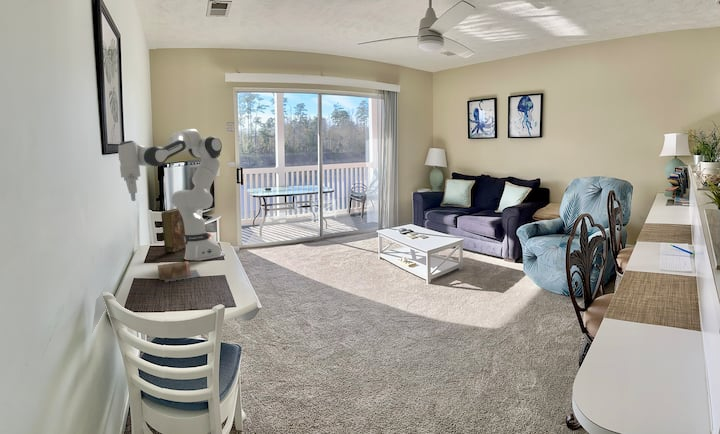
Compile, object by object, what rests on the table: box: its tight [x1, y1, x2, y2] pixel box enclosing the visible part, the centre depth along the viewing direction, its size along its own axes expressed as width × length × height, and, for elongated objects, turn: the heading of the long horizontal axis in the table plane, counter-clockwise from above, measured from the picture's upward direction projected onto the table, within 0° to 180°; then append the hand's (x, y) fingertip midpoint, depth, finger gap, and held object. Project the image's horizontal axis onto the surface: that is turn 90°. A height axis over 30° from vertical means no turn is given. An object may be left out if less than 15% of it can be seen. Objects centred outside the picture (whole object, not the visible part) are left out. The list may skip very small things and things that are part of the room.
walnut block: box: [157, 260, 191, 281], centre depth 230 cm, size 6×6×14 cm
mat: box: [164, 269, 201, 283], centre depth 231 cm, size 16×14×1 cm
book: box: [160, 208, 186, 253], centre depth 288 cm, size 16×6×25 cm, turn 168°
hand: (133, 200), depth 237 cm, fingers closed
